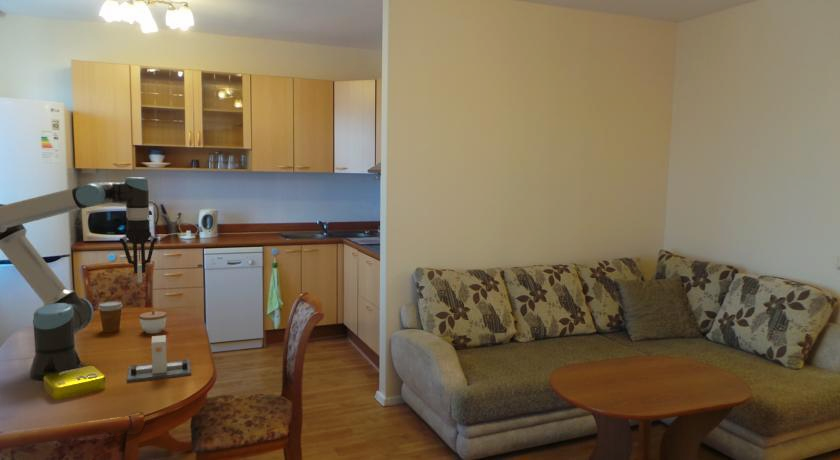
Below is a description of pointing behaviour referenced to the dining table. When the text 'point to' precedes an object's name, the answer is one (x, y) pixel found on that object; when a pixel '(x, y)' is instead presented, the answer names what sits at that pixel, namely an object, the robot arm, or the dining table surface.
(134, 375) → the mounting plate
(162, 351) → the block
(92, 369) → the element tile
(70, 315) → the robot arm
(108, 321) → the disposable coffee cup
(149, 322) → the lidded jar
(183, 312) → the dining table surface
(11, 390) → the dining table surface
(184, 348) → the dining table surface
